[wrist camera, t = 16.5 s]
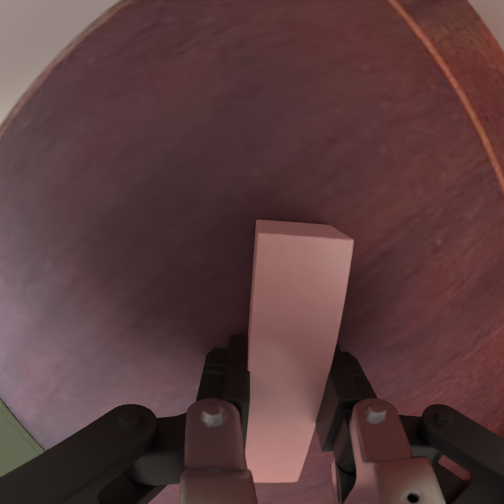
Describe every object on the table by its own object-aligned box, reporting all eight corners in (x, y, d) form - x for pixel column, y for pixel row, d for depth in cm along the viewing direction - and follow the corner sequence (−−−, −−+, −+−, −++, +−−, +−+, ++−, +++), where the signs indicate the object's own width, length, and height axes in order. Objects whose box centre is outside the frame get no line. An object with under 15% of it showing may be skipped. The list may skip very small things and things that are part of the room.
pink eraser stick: (255, 219, 10) (257, 232, 7) (330, 224, 10) (354, 239, 7) (240, 442, 12) (238, 482, 10) (292, 443, 12) (297, 482, 10)
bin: (-53, 402, 13) (-93, 444, 6) (-10, 385, 12) (-74, 453, 4) (48, 510, 16) (27, 556, 9) (132, 521, 15) (114, 590, 8)
